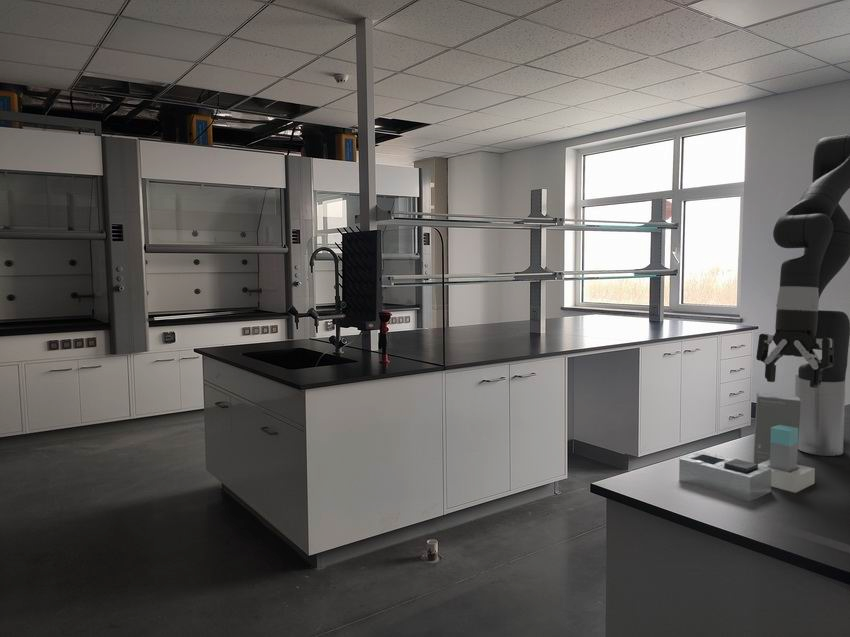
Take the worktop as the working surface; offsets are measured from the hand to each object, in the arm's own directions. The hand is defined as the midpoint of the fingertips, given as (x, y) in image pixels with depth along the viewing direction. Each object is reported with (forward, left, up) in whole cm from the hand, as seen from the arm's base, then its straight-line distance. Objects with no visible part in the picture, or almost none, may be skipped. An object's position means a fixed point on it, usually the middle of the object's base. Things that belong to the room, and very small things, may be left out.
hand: (791, 384), depth 127 cm
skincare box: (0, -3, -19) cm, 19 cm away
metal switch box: (+23, -2, -19) cm, 29 cm away
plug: (+12, +4, -18) cm, 22 cm away
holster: (+12, +4, -19) cm, 22 cm away
